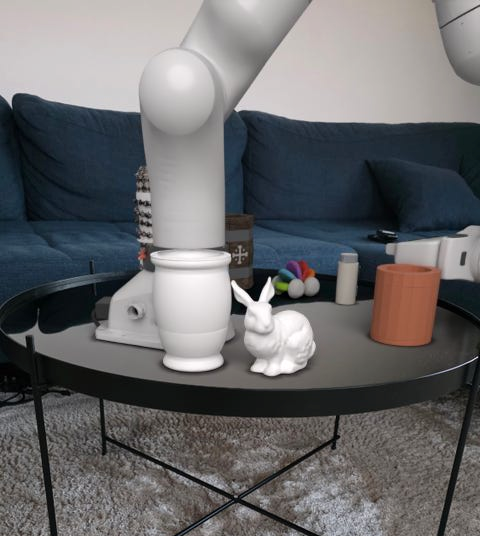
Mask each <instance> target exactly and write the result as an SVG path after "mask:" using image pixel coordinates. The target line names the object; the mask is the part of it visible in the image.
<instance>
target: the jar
mask: <svg viewBox="0 0 480 536" xmlns="http://www.w3.org/2000/svg"><path fill="white" fill-rule="evenodd" d="M150 255H151V262H152V263H153V264H154V265H155V272H154V276H153V285H152V302H153V311H154V316H155V320H156V324H157V330H158V335H159V338H160V341H161V344H162V346H163V348H164V349H163V350H164V351H165V355H164V357H163V359H162V363H163V365H164V366H165V367H166V368H168V369H171V370H174V371H179V372H183V373H184V372H185V373H200V372H208V371H212V370H213V371H214V370H216V369H218V368H220V367H222V366H223V364H224V362H225V361H224V357H223V356H222V354H221V351H222V350H223V348H224V345H225V343H226V341H225V340H226V336H227V331H228V322H229V318H230V315H231V311H232V291H231V284H230V278H229V273H228V270H227V265H228V264H229V263H230V262H231V254H229V253H227V252H223V251H217V250H208V249H173V250H164V251H157V252H153V253H151V254H150Z"/></svg>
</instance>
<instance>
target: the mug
mask: <svg viewBox="0 0 480 536" xmlns="http://www.w3.org/2000/svg"><path fill="white" fill-rule="evenodd" d="M254 224H255V215H253V214H246V213H226V212H225V244H226V245H227V246H228V253H229V254H231V262H230V263H229V278H230V284H231V282H232V280H234V281H235V282H236V284H237V285H238V286H239V287H240V288H241V289H243V290H244V291H245V290H250V289H251V288H252V287H253V286H254V285H255V284H254V273H253V272H254V268H253V267H254V266H253V265H254V256H255V255H254V253H255V247H254V246H255V245H254ZM231 292H234V289H233V287H232V285H231Z"/></svg>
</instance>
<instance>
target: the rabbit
mask: <svg viewBox="0 0 480 536" xmlns="http://www.w3.org/2000/svg"><path fill="white" fill-rule="evenodd" d="M271 281H272V277H271V276H268V278H267V281H266V283H265V285H264V286H263V288H262V290H261V293H260V296H259V299H258V301H254V300H253V299H252V298H251V296H250V295H249V294H248V293H247V291H246V290H245V289H244V290H243V289H241V288H240V287H239V286H238V285H237V284H236V282H235V281H234V280H232V282H231V285H232V287H233V289H234V291H233V294H234V298H235V300H236V301H237V302H239V303H240V304H242V305H244V306H245V307H246V312H245V316H244V320H243V324H244V327H245V329H246V330H245V332H244V337H243V342H244V346H245V349H246V350H247V351H248V352H249V353H250V354H251V355H252V356H253V357H255V358H256V359H255V361H254V363H253V364H252V365H251V367H250V371H251V372H252V373H260V374H261V373H262V374H263V375H264V376H267V377H276V376H278V375H280V374H289V375H290V374H294V373H295V372H297V371H299V370H302V369H304V368H305V367H307V364H308V360H310V359H311V358H312V357H313V356H314V354H315V352H316V348H317V346H316V342H315V341H314V332H313V329H312V326H311V323H310V321H309V319H308V318H307V316H305V315H304V314H303V313H301V312H299V311H295V310H292V309H286V310H283V311H282V310H281V311H279V312H277V313H275V314H272V308H273V307H272V305H271V304H270V303H269V302H270V301H271V299H272V298H273V297H274V296H275V293H274V288H273V285H272V283H271Z"/></svg>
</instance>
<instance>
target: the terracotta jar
mask: <svg viewBox="0 0 480 536" xmlns="http://www.w3.org/2000/svg"><path fill="white" fill-rule="evenodd" d="M440 277H441V270H440V269H438V268H436V267H432V266H420V265H411V264H395V263H385V264H380V265H378V266H377V267H376V273H375V281H374V282H375V283H374V293H373V302H372V303H373V304H372V313H371V322H370V334H369V337H370V338H371V339H372V340H374V342H375V341H376V342H378V343H381V344H385V345H391V346H398V347H418V346H425V345H427V344H430V343H431V342H432V337H433V332H434V325H435V318H436V312H437V311H436V310H437V304H438V298H439V297H438V296H439V292H440V291H439V290H440V285H441V284H440V283H441V279H440Z"/></svg>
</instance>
